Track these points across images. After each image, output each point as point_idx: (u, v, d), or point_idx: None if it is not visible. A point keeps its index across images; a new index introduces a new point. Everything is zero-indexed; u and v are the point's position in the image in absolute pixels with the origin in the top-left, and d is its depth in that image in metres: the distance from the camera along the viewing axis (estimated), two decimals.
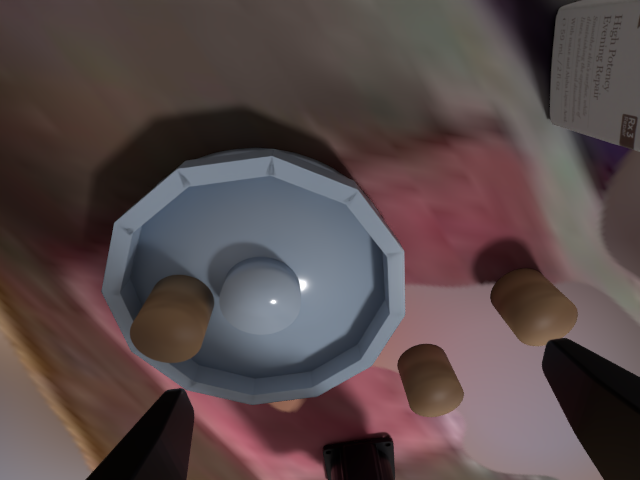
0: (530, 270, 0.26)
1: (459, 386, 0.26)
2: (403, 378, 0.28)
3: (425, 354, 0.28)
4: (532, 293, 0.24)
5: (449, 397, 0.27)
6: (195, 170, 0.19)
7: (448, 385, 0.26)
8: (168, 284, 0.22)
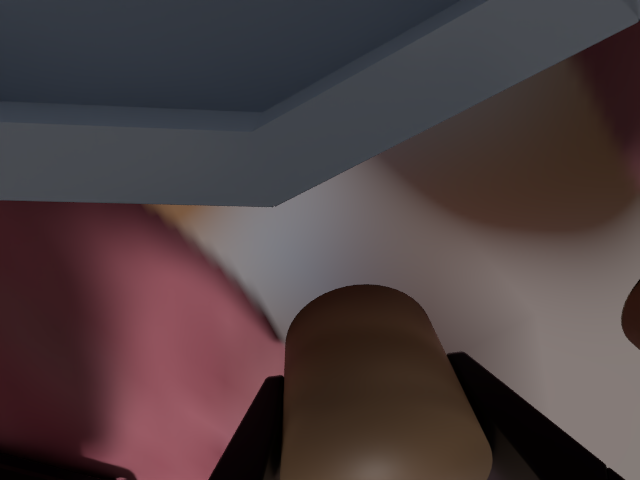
0: None
1: (484, 474, 0.07)
2: (308, 355, 0.08)
3: (414, 321, 0.08)
4: None
5: None
6: None
7: (464, 455, 0.07)
8: None
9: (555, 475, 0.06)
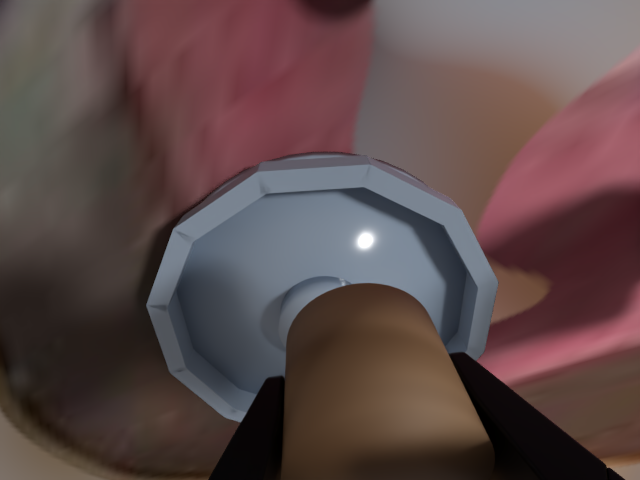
0: None
1: (487, 473, 0.07)
2: (310, 354, 0.08)
3: (416, 319, 0.08)
4: None
5: None
6: (169, 361, 0.20)
7: (466, 454, 0.07)
8: None
9: (555, 475, 0.06)
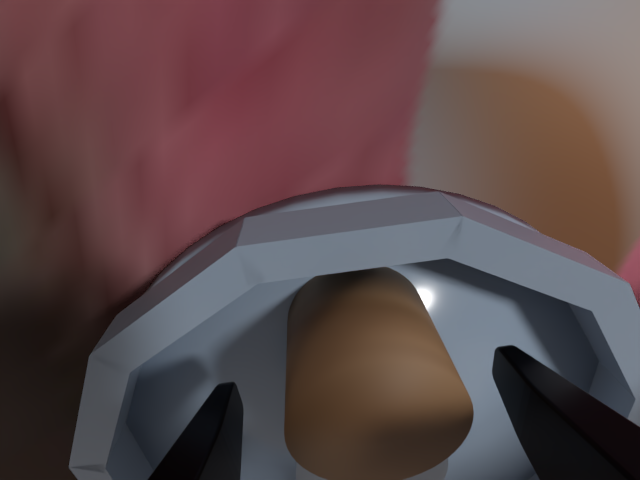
0: None
1: (467, 426, 0.08)
2: (309, 323, 0.09)
3: (405, 294, 0.09)
4: None
5: (413, 444, 0.08)
6: None
7: (448, 407, 0.07)
8: None
9: (632, 465, 0.06)
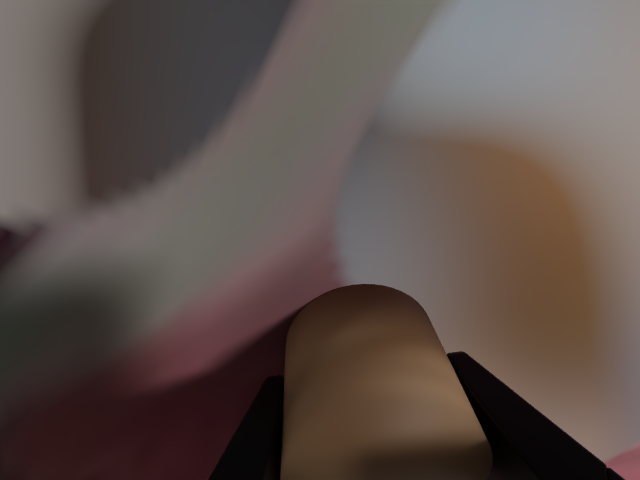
0: None
1: None
2: None
3: None
4: None
5: None
6: None
7: None
8: None
9: (555, 475, 0.06)
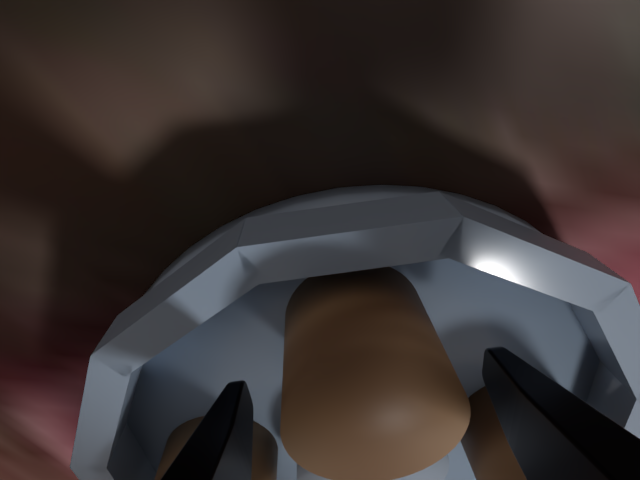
0: (285, 321, 0.10)
1: None
2: None
3: None
4: None
5: None
6: (278, 250, 0.08)
7: None
8: None
9: (616, 467, 0.06)
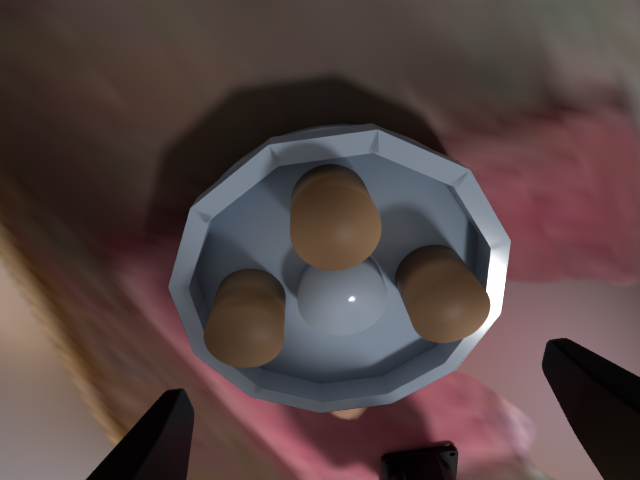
0: None
1: (445, 341, 0.19)
2: (468, 268, 0.19)
3: None
4: None
5: (438, 326, 0.19)
6: (289, 146, 0.16)
7: (459, 333, 0.19)
8: (241, 279, 0.20)
9: None
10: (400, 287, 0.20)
